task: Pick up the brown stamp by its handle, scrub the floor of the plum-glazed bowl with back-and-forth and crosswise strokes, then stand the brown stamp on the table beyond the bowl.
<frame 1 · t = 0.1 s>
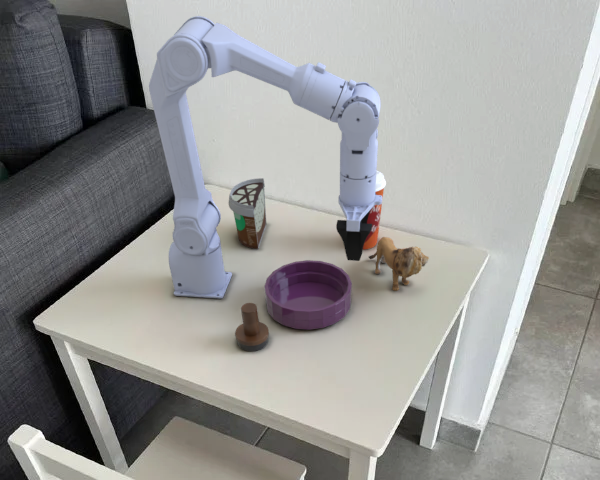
hand: (355, 247, 107), 10 cm above the table, tool pointing down, fingers open, 7 cm apart
lion figurine: (394, 278, 118), on the table
paper cup: (363, 242, 127), on the table
bowl: (308, 305, 113), on the table
brown stamp: (253, 341, 106), on the table
food container: (248, 236, 130), on the table
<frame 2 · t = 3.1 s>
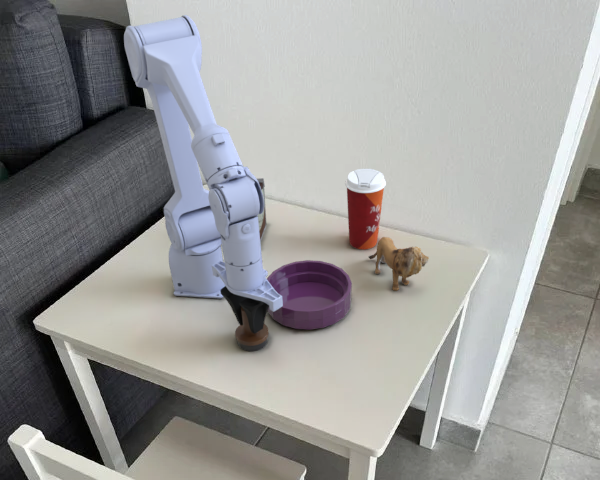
hand: (251, 326, 104), 3 cm above the table, tool pointing down, fingers closed on brown stamp, 2 cm apart
brown stamp: (252, 341, 106), on the table, touching gripper
everything else where it was.
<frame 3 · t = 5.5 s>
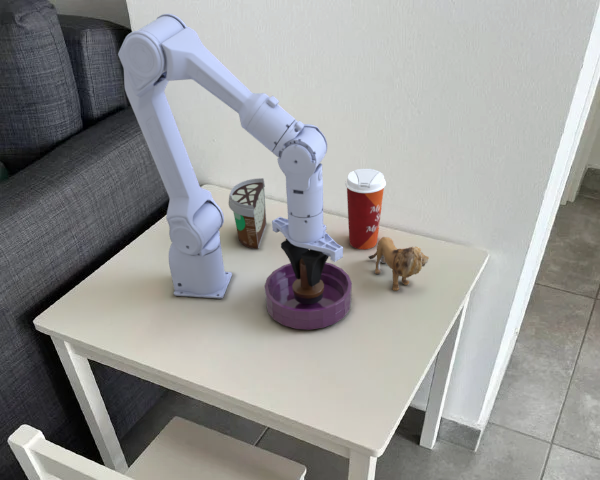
hand: (308, 280, 109), 5 cm above the table, tool pointing down, fingers closed on brown stamp, 2 cm apart
brown stamp: (308, 295, 111), point 2 cm above the table, touching gripper
everything else where it was.
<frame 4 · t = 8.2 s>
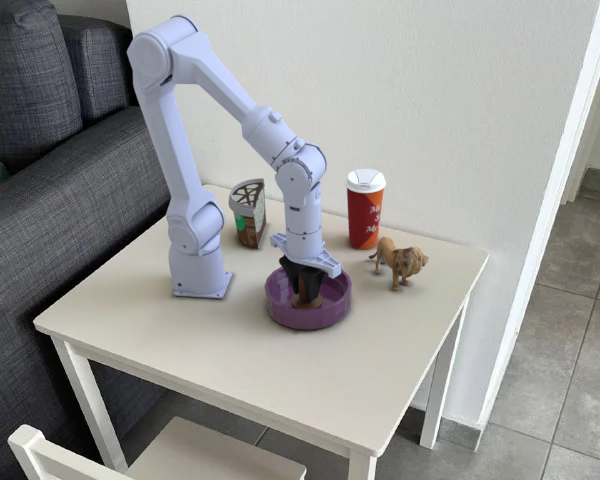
hand: (306, 295, 109), 4 cm above the table, tool pointing down, fingers closed on brown stamp, 2 cm apart
brown stamp: (307, 309, 111), point 1 cm above the table, touching gripper
everything else where it was.
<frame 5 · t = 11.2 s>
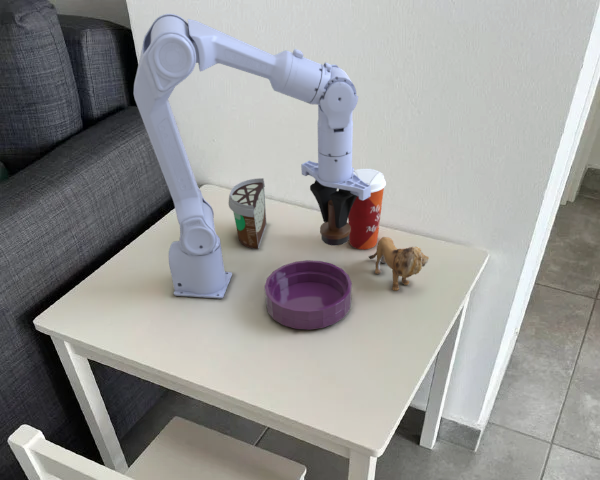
hand: (335, 223, 113), 10 cm above the table, tool pointing down, fingers closed on brown stamp, 2 cm apart
brown stamp: (335, 238, 116), point 7 cm above the table, touching gripper
everything else where it was.
when the fingers open (3 cm above the table, at t = 13.3 s): brown stamp stays where it is, on the table.
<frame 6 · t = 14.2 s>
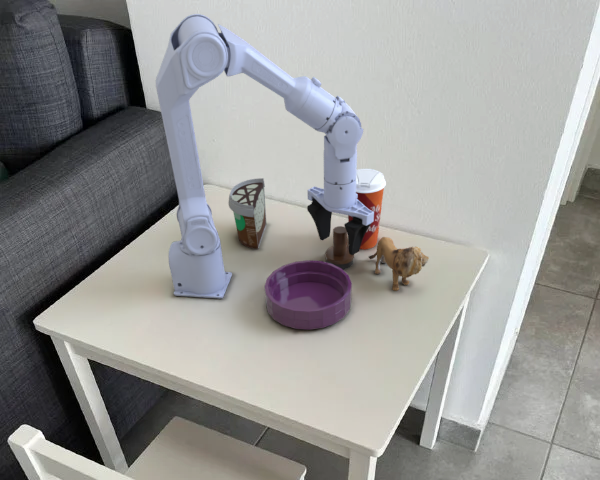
hand: (339, 245, 119), 4 cm above the table, tool pointing down, fingers open, 7 cm apart
brown stamp: (339, 262, 122), on the table
everything else where it was.
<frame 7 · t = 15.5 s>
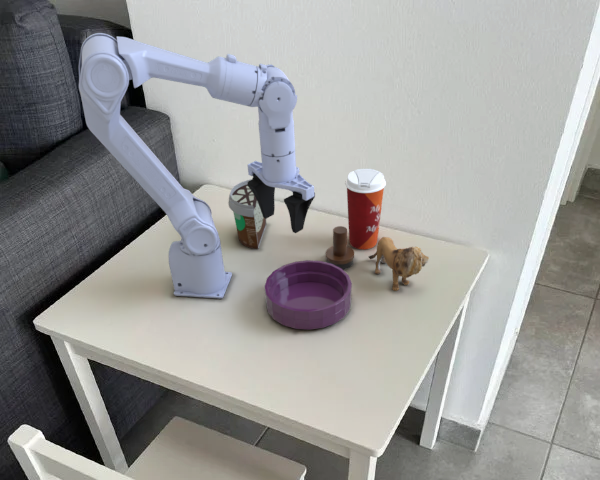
hand: (283, 223, 113), 10 cm above the table, tool pointing down, fingers open, 7 cm apart
nothing on the table moved.
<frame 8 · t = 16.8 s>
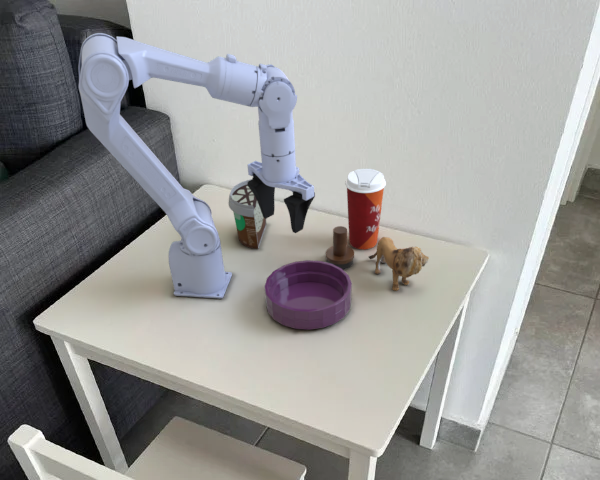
hand: (283, 223, 113), 10 cm above the table, tool pointing down, fingers open, 7 cm apart
nothing on the table moved.
at the end: brown stamp inside the target area (0.2 cm from its centre), on the table; brown stamp tilted 0°; bowl moved 0.0 cm from its start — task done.
